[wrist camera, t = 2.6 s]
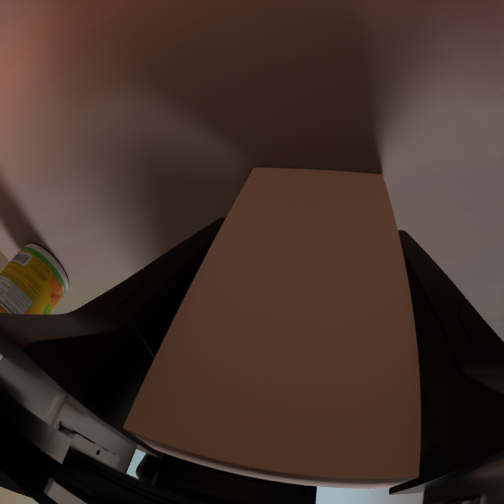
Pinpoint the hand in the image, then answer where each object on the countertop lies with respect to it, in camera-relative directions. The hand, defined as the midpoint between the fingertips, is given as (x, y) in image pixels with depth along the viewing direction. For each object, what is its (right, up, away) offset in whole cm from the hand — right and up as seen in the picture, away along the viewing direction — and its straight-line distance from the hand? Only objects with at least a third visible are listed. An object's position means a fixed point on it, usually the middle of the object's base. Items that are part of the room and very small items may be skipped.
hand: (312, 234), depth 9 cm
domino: (+1, +2, +2) cm, 3 cm away
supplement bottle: (-19, -2, +12) cm, 22 cm away
